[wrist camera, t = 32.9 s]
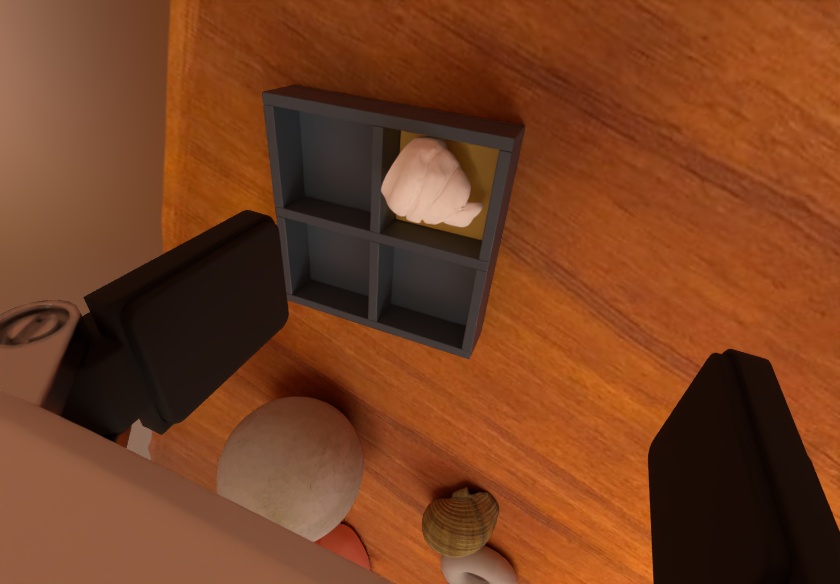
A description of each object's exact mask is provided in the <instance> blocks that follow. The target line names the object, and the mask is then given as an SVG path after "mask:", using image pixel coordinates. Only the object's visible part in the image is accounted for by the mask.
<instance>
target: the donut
mask: <svg viewBox="0 0 840 584" xmlns="http://www.w3.org/2000/svg"><path fill="white" fill-rule="evenodd" d="M441 570H442V572H443V574H444V576H445V578H446V580H447V581H448V582H449V583H450V584H517V577H516V574H515V572H514V569H513V567H512V566H511V565H510V563H509V562H508V561H507V560H506V559H505V558H504V557H503V556H501V555H500V554H499V553H498V552H496V551H494V550H492V549H491V548H489V547H487V546H483V547H482V548H481V549H479V550H478V551H476V552H475V553H473V554H470V555H467V556H464V557H459V558H450V557H447V556H444V555H441Z"/></svg>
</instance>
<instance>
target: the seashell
mask: <svg viewBox="0 0 840 584" xmlns="http://www.w3.org/2000/svg"><path fill="white" fill-rule="evenodd" d="M498 512H499V507H498V504H497V503H496V501H495V499H494V498H493V497H492V496H491V495H490V494H489V493H481V492H479V493H475V494H472V495H470V494H469V492H468V488H467V487H465V488H463V489H459V490H457V491H455V492H454V493H453V494H452V497H451V498H449V499H448V498H443V497H442V498H438V499H435V500H433V501H432V502H431V503H430V504H429V505H428V506H427V508H426V510H425V512H424V514H423V519H422V531H423V535H424V538H425V540H426V542H427V543H428V544H429V546H430V547H431V548H432V549H433V550H435V551H436V552H438V553H440V554H442V555H444V556H447V557H450V558H459V557H464V556H467V555H470V554H473V553H475V552H476V551H478V550H479V549H481V548H482V547H483V546H484V545H485V544H486V543H487V541H488V540H489V538H490V537H491V535H492V533H493V530H494V528H495V524H496V522H497V517H498Z"/></svg>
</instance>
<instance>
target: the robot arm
mask: <svg viewBox="0 0 840 584" xmlns="http://www.w3.org/2000/svg"><path fill="white" fill-rule="evenodd" d="M84 299H85V302H86V304H87V306H88V308H89V310H90V312H89V313H87V314H86V315H84V316H82V315H81V313H80V311H79V309H78V308H77V306H76V305H74V304H73V303H71V302H68V301H62V300H43V301H38V302H32V303H28V304H24V305H21V306H18V307H15V308H13V309H10V310H8V311H6V312H4V313H1V314H0V584H395V583H393V582H391V581H389V580H387V579H385V578H383V577H381V576H379V575H378V574H376V573H374V572H372V571H370V570H368V569H366V568H364V567H362V566H360V565H358V564H356V563H354V562H352V561H350V560H348V559H346V558H344V557H342V556H340V555H338V554H336V553H334V552H332V551H330V550H328V549H326V548H324V547H322V546H320V545H318V544H316V543H314V542H312V541H310V540H308V539H306V538H304V537H302V536H300V535H298V534H296V533H294V532H292V531H290V530H288V529H286V528H284V527H282V526H280V525H278V524H276V523H274V522H272V521H270V520H268V519H266V518H264V517H262V516H260V515H258V514H256V513H255V512H253V511H251V510H249V509H247V508H245V507H243V506H241V505H239V504H237V503H235V502H233V501H231V500H229V499H227V498H225V497H223V496H221V495H219V494H217V493H215V492H213V491H211V490H209V489H207V488H205V487H203V486H201V485H199V484H197V483H195V482H193V481H191V480H189V479H187V478H185V477H183V476H181V475H179V474H177V473H175V472H173V471H171V470H169V469H166V468H164V467H162V466H160V465H158V464H156V463H154V462H152V461H150V460H148V459H146V458H144V457H142V456H140V455H138V454H136V453H134V452H132V451H130V450H128V449H126V448H127V444H128V440H129V435H130V431H131V425H132V424H133V423H134V422H135V421H137V420H138V419H140V421H141V423H142V425H143V426H144V427H147V428H149V429H151V430H153V431H155V432H157V433H159V434H161V435H162V434H163V433H165V432H166V431H167V430H168V429H169V428H170V427H171V426H172V425H173V424H176V423H180V422H182V421H183V420H184V419H186V418H187V417H188V416H189V415H190V414H191V413H192V412H193V411H194V410H195V409H196V408H197V407H198V406H199V405H201V404H202V403H203V402H204V401H205V400H206V399H207V398H208V397H209V396H210V395H211V394H212V393H213V392H214V391H215V390H216V389H218V388H219V387H220V386H221V385H222V384H223V383H224V382H225V381H226V380H227V379H228V378H229V377H230V376H231V375H232V374H234V373H235V372H236V371H237V370H238V369H239V368H240V367H241V366H242V365H243V364H244V363H245V362H246V361H247V360H248V359H249V358H251V357H252V356H253V355H254V354H255V353H256V352H257V351H258V350H259V349H260V348H261V347H262V346H263V345H264V344H265V343H267V342H268V341H269V340H270V339H271V338H272V337H273V336H274V335H275V334H276V333H277V332H278V331H279V330H280V329H281V328H283V326H284V325H285V324H286V322H287V319H288V315H289V312H288V303H287V294H286V286H285V277H284V268H283V260H282V251H281V242H280V234H279V228H278V226H277V225H276V224H275V223H274V220H273V219H272V218H271V217H270V216H268V215H264V214H261V213H257V212H254V211H251V210H245V211H242V212H240V213H239V214H237V215H235V216H233V217H231V218H229V219H227V220H226V221H224V222H222V223H220V224H218V225H216V226H215V227H213V228H211V229H209V230H207V231H205V232H203V233H202V234H200V235H198V236H196V237H194V238H192V239H190V240H189V241H187V242H185V243H183V244H181V245H179V246H177V247H176V248H174V249H172V250H170V251H168V252H166V253H164V254H163V255H161V256H159V257H157V258H155V259H153V260H151V261H150V262H148V263H146V264H144V265H142V266H140V267H139V268H137V269H135V270H133V271H131V272H129V273H127V274H126V275H124V276H122V277H120V278H118V279H116V280H114V281H113V282H111V283H109V284H107V285H105V286H103V287H101V288H100V289H98V290H96V291H94V292H92V293H90V294H88V295H87V296H85V297H84ZM648 470H649V492H650V514H651V536H652V558H653V579H654V584H840V531H839V529H838V526H837V524H836V521H835V519H834V516H833V514H832V511H831V509H830V506H829V504H828V501H827V499H826V496H825V494H824V492H823V489H822V487H821V484H820V482H819V479H818V477H817V474H816V472H815V469H814V467H813V464H812V462H811V460H810V458H809V457H808V455H807V453H806V450H805V448H804V445H803V443H802V440H801V438H800V435H799V433H798V430H797V428H796V425H795V423H794V420H793V418H792V415H791V413H790V410H789V408H788V405H787V403H786V400H785V398H784V395H783V393H782V390H781V388H780V385H779V383H778V380H777V378H776V375H775V373H774V370H773V368H772V365H771V363H770V362H769V360H767V359H765V358H761V357H758V356H754V355H751V354H747V353H744V352H740V351H737V350H733V349H728V350H726V351H725V352H723V354H718V353H713V354H711V355H710V356H709V358H708V359H707V361H706V362H705V364H704V365H703V367H702V368H701V370H700V371H699V372H698V374H697V375H696V377H695V378H694V380H693V381H692V383H691V384H690V386H689V387H688V389H687V390H686V392H685V393H684V395H683V396H682V398H681V399H680V401H679V402H678V404H677V405H676V407H675V408H674V410H673V411H672V413H671V414H670V416H669V417H668V419H667V420H666V422H665V423H664V425H663V426H662V428H661V429H660V431H659V432H658V434H657V435H656V437H655V438H654V440H653V442H652V443H651V446H650V449H649V454H648Z"/></svg>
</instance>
